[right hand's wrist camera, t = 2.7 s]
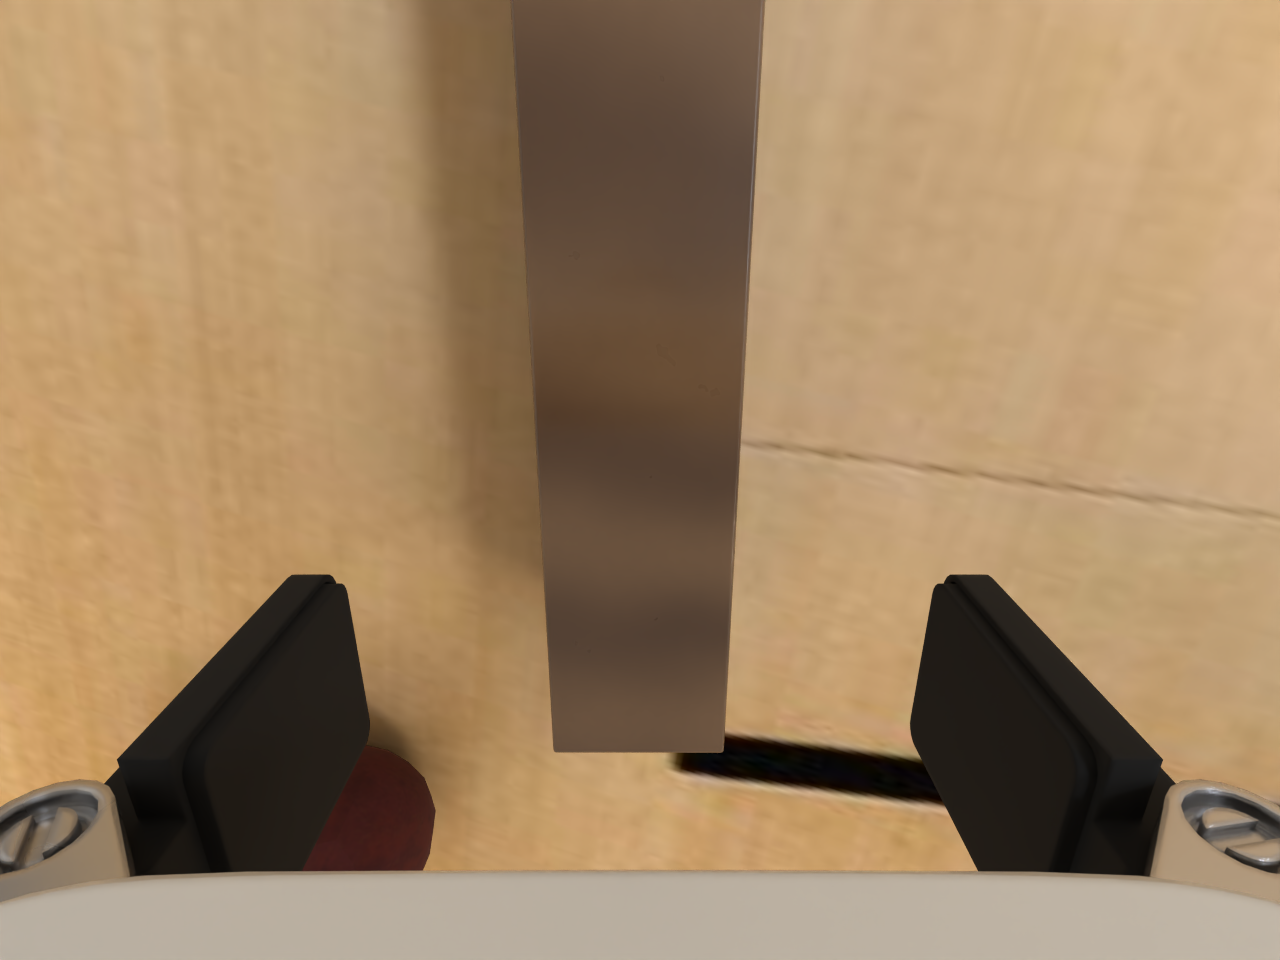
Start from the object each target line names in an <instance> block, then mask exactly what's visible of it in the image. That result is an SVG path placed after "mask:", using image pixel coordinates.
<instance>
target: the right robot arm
mask: <svg viewBox="0 0 1280 960" xmlns="http://www.w3.org/2000/svg"><path fill="white" fill-rule="evenodd" d="M369 730H370V720H369V713H368V708H367V702H366V696H365V691H364V685H363V679H362V674H361V668H360V662H359V656H358V651H357V645H356V639H355V634H354V628H353V622H352V617H351V611H350V605H349V599H348V594H347V590H346V588H345V586H344V585H343V584H336V581H335V580H334V578H333V577H332V576H331V575H291V576H290V577H288V578H287V579H286V580H285V581H284V583H283V584H282V585H281V586H280V587H279V588H278V589H277V590H276V591H275V592H274V593H273V594H272V595H271V596H270V597H269V599H268V600H267V601H266V602H265V603H264V604H263V605H262V606H261V607H260V608H259V609H258V610H257V611H256V612H255V613H254V614H253V616H252V617H251V618H250V619H249V620H248V621H247V622H246V623H245V624H244V625H243V626H242V627H241V628H240V629H239V630H238V631H237V633H236V634H235V635H234V636H233V637H232V638H231V639H230V640H229V641H228V642H227V643H226V644H225V645H224V646H223V647H222V648H221V650H220V651H219V652H218V653H217V654H216V655H215V656H214V657H213V658H212V659H211V660H210V661H209V662H208V663H207V664H206V665H205V667H204V668H203V669H202V670H201V671H200V672H199V673H198V674H197V675H196V676H195V677H194V678H193V679H192V680H191V681H190V682H189V684H188V685H187V686H186V687H185V688H184V689H183V690H182V691H181V692H180V693H179V694H178V695H177V696H176V697H175V698H174V699H173V701H172V702H171V703H170V704H169V705H168V706H167V707H166V708H165V709H164V710H163V711H162V712H161V713H160V714H159V715H158V717H157V718H156V719H155V720H154V721H153V722H152V723H151V724H150V725H149V726H148V727H147V728H146V729H145V730H144V731H143V732H142V734H141V735H140V736H139V737H138V738H137V739H136V740H135V741H134V742H133V743H132V744H131V745H130V746H129V747H128V748H127V749H126V751H125V752H124V753H123V754H122V755H121V756H120V757H119V758H118V759H117V761H118V764H119V768H118V769H117V770H116V772H115V773H114V774H113V775H112V776H111V777H110V778H109V779H108V780H107V781H106V782H105V783H104V784H103V783H101V782H99V781H94V780H80V779H79V780H72V781H66V782H59V783H55V784H52V785H49V786H46V787H42V788H39V789H36V790H33V791H31V792H29V793H27V794H25V795H22V796H20V797H18V798H16V799H14V800H12V801H9V802H8V803H6V804H5V805H3V806H1V807H0V960H1280V807H1279V806H1277V805H1275V804H1274V803H1272V802H1271V801H1268V800H1266V799H1264V798H1262V797H1260V796H1258V795H1255V794H1253V793H1251V792H1249V791H1247V790H1244V789H1241V788H1238V787H1234V786H1231V785H1228V784H1225V783H1221V782H1214V781H1208V780H1201V779H1200V780H1186V781H1181V782H1179V783H1177V784H1176V783H1175V782H1174V781H1173V780H1172V779H1171V778H1170V777H1169V776H1168V775H1167V774H1166V773H1165V772H1164V770H1163V769H1162V768H1161V764H1162V761H1163V759H1162V758H1161V757H1160V756H1159V755H1158V754H1157V753H1156V752H1155V751H1154V749H1153V748H1152V747H1151V746H1150V745H1149V744H1148V743H1147V742H1146V741H1145V740H1144V739H1143V738H1142V737H1141V736H1140V735H1139V734H1138V732H1137V731H1136V730H1135V729H1134V728H1133V727H1132V726H1131V725H1130V724H1129V723H1128V722H1127V721H1126V720H1125V719H1124V718H1123V717H1122V715H1121V714H1120V713H1119V712H1118V711H1117V710H1116V709H1115V708H1114V707H1113V706H1112V705H1111V704H1110V703H1109V702H1108V701H1107V699H1106V698H1105V697H1104V696H1103V695H1102V694H1101V693H1100V692H1099V691H1098V690H1097V689H1096V688H1095V687H1094V686H1093V685H1092V684H1091V682H1090V681H1089V680H1088V679H1087V678H1086V677H1085V676H1084V675H1083V674H1082V673H1081V672H1080V671H1079V670H1078V669H1077V668H1076V667H1075V665H1074V664H1073V663H1072V662H1071V661H1070V660H1069V659H1068V658H1067V657H1066V656H1065V655H1064V654H1063V653H1062V652H1061V651H1060V650H1059V648H1058V647H1057V646H1056V645H1055V644H1054V643H1053V642H1052V641H1051V640H1050V639H1049V638H1048V637H1047V636H1046V635H1045V634H1044V633H1043V631H1042V630H1041V629H1040V628H1039V627H1038V626H1037V625H1036V624H1035V623H1034V622H1033V621H1032V620H1031V619H1030V618H1029V617H1028V616H1027V614H1026V613H1025V612H1024V611H1023V610H1022V609H1021V608H1020V607H1019V606H1018V605H1017V604H1016V603H1015V602H1014V601H1013V600H1012V599H1011V597H1010V596H1009V595H1008V594H1007V593H1006V592H1005V591H1004V590H1003V589H1002V588H1001V587H1000V586H999V585H998V584H997V583H996V581H995V580H994V579H993V578H992V577H990V576H989V575H949V576H948V577H947V578H946V580H945V581H944V584H937V585H936V586H935V588H934V590H933V594H932V599H931V605H930V611H929V617H928V622H927V628H926V634H925V639H924V645H923V651H922V656H921V662H920V668H919V674H918V679H917V685H916V691H915V696H914V702H913V708H912V713H911V720H910V730H911V736H912V740H913V743H914V745H915V747H916V749H917V751H918V753H919V755H920V757H921V759H922V761H923V763H924V765H925V767H926V769H927V771H928V773H929V775H930V777H931V779H932V781H933V783H934V785H935V787H936V789H937V791H938V793H939V795H940V797H941V799H942V801H943V803H944V805H945V807H946V809H947V811H948V812H949V814H950V816H951V818H952V820H953V822H954V824H955V826H956V828H957V830H958V832H959V834H960V836H961V838H962V840H963V842H964V844H965V846H966V848H967V850H968V852H969V854H970V856H971V858H972V860H973V862H974V864H975V866H976V868H977V870H978V871H832V870H448V871H302V870H303V868H304V866H305V864H306V862H307V860H308V858H309V856H310V854H311V852H312V850H313V848H314V846H315V844H316V842H317V840H318V838H319V836H320V834H321V832H322V830H323V828H324V826H325V824H326V822H327V820H328V818H329V816H330V814H331V812H332V811H333V809H334V807H335V805H336V803H337V801H338V799H339V797H340V795H341V793H342V791H343V789H344V787H345V785H346V783H347V781H348V779H349V777H350V775H351V773H352V771H353V769H354V767H355V765H356V763H357V761H358V759H359V757H360V755H361V753H362V751H363V749H364V747H365V745H366V743H367V740H368V736H369Z"/></svg>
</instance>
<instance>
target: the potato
mask: <svg viewBox="0 0 1280 960" xmlns="http://www.w3.org/2000/svg"><path fill="white" fill-rule="evenodd" d="M434 819H435V807H434V804H433V800H432V797H431V794H430V791H429V789H428V786H427V784H426V781H425V778H424V777H423V776H422V775H421V774H420V773H419V772H418V771H417V770H416V769H415V768H414V767H413V766H412V765H411V764H410V763H409V762H407V761H406V760H404V759H402V758H401V757H399V756H397V755H396V754H394V753H392V752H390V751H389V750H385V749H380V748H376V747H372V746H367V745H365V747H364V749H363V751H362V753H361V755H360V757H359V759H358V761H357V763H356V765H355V767H354V769H353V771H352V773H351V775H350V777H349V779H348V781H347V783H346V785H345V787H344V789H343V791H342V793H341V795H340V797H339V799H338V801H337V803H336V805H335V807H334V809H333V811H332V812H331V814H330V816H329V818H328V820H327V822H326V824H325V826H324V828H323V830H322V832H321V834H320V836H319V838H318V840H317V842H316V844H315V846H314V848H313V850H312V852H311V854H310V856H309V858H308V860H307V862H306V864H305V866H304V868H303V870H302V871H423V869H424V866H425V864H426V861H427V859H428V857H429V854H430V848H431V841H432V834H433V826H434Z"/></svg>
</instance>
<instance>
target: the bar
mask: <svg viewBox="0 0 1280 960" xmlns="http://www.w3.org/2000/svg"><path fill="white" fill-rule="evenodd" d="M764 11H765V0H511V17H512V34H513V52H514V69H515V86H516V104H517V121H518V139H519V156H520V174H521V191H522V209H523V226H524V243H525V261H526V278H527V296H528V313H529V331H530V348H531V366H532V383H533V400H534V418H535V435H536V453H537V470H538V488H539V505H540V523H541V540H542V557H543V575H544V592H545V610H546V627H547V645H548V662H549V680H550V697H551V714H552V732H553V749H554V751H555V752H723V750H724V735H725V717H726V699H727V681H728V663H729V645H730V626H731V608H732V590H733V572H734V554H735V536H736V518H737V500H738V482H739V464H740V446H741V427H742V409H743V391H744V373H745V355H746V337H747V319H748V301H749V283H750V265H751V246H752V228H753V210H754V192H755V174H756V156H757V138H758V120H759V102H760V84H761V66H762V47H763V29H764Z"/></svg>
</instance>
